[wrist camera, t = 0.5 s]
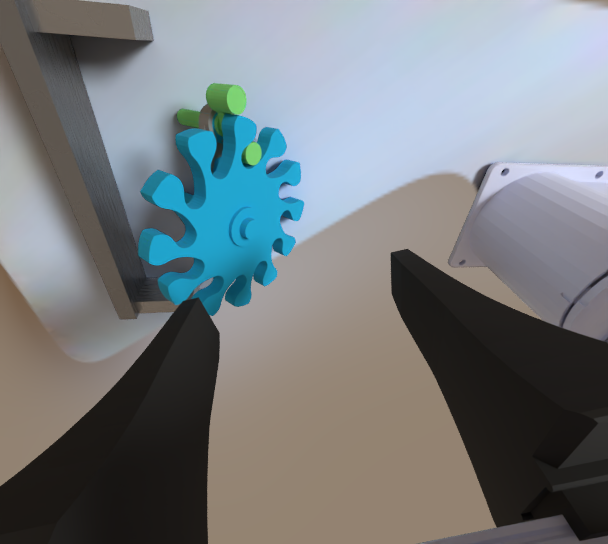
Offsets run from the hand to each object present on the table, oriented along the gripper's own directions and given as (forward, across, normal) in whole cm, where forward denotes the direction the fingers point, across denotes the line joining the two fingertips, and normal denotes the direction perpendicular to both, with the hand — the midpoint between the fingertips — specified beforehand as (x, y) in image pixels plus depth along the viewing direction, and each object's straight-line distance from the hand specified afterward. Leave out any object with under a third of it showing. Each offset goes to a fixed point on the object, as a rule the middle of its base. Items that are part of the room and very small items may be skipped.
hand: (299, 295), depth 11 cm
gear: (+10, +2, -1) cm, 10 cm away
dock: (+9, +8, -3) cm, 12 cm away
